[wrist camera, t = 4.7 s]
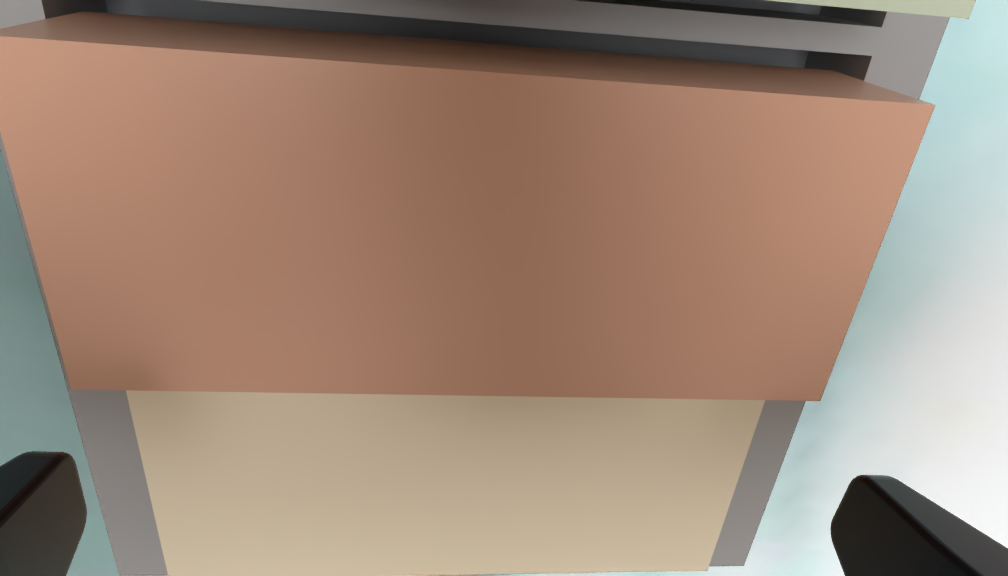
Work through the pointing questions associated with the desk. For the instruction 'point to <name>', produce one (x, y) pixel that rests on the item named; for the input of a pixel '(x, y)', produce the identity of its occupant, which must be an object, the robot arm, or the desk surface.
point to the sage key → (902, 6)
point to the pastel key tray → (536, 23)
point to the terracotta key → (441, 211)
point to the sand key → (437, 482)
